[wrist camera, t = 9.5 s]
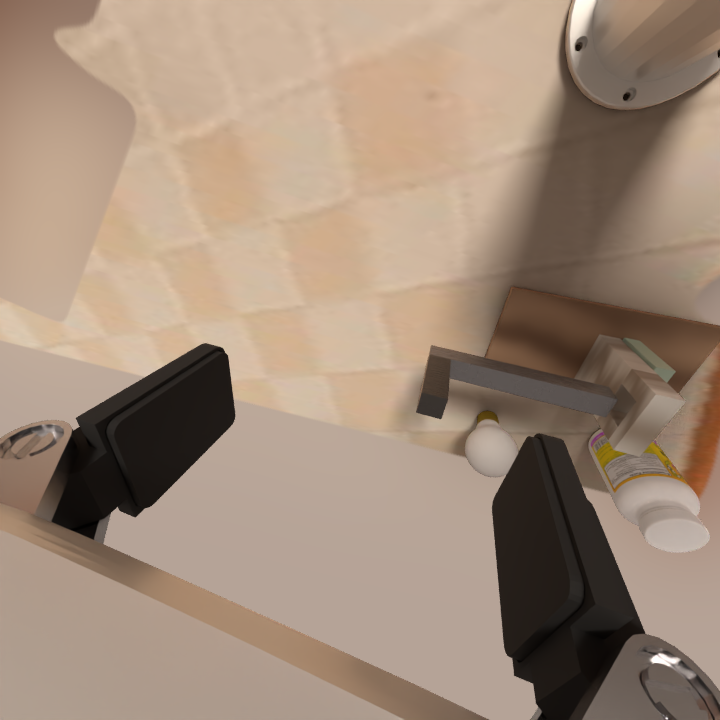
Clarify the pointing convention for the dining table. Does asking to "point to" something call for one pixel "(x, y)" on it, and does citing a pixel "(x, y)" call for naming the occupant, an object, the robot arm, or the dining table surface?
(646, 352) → the collar
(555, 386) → the dark grey bent bar
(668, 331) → the stand
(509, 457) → the light bulb
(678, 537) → the supplement bottle
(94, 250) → the dining table surface
